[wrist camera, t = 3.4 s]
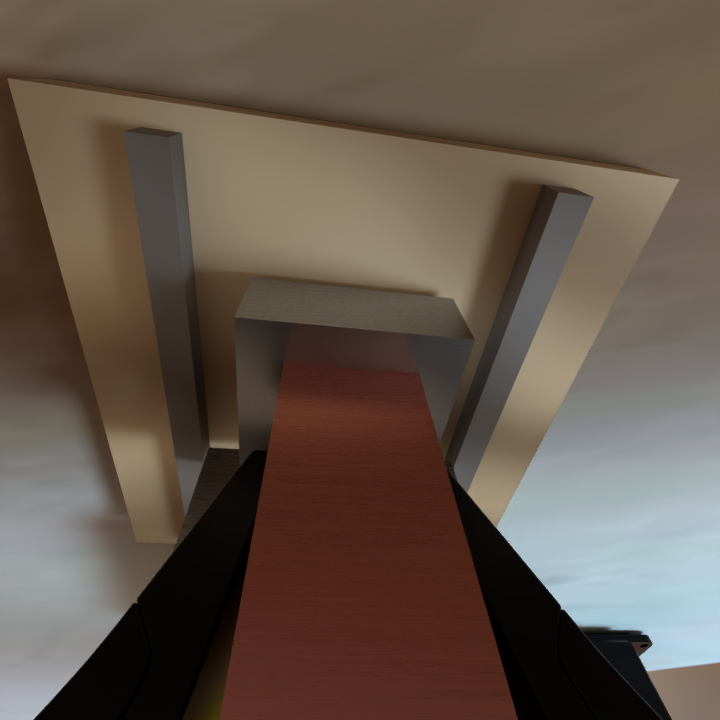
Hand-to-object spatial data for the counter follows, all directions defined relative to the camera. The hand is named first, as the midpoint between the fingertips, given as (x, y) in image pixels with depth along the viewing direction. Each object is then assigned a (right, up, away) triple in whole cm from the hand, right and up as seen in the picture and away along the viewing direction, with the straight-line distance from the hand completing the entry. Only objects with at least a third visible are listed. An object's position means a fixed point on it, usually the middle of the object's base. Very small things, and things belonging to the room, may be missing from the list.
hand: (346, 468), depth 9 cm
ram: (0, +2, +3) cm, 4 cm away
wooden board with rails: (0, +1, +5) cm, 5 cm away
